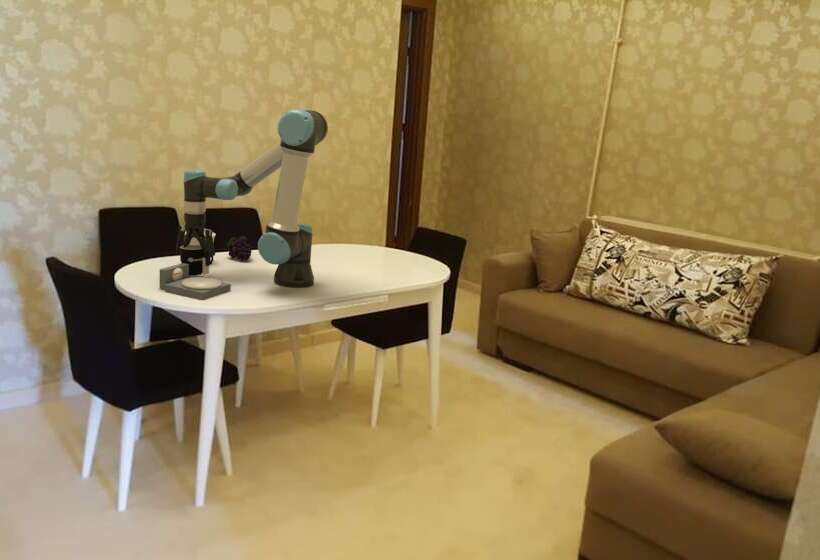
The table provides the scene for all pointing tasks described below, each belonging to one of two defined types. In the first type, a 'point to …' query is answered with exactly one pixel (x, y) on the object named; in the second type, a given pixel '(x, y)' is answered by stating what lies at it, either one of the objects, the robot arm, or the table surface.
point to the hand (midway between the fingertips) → (195, 272)
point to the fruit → (239, 248)
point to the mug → (193, 258)
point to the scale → (190, 283)
